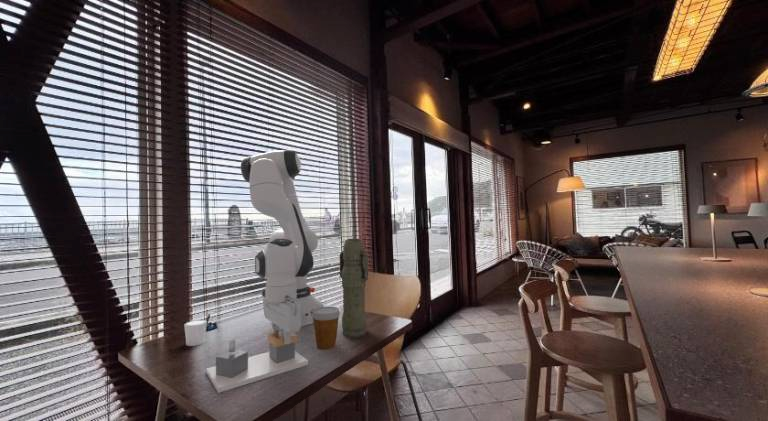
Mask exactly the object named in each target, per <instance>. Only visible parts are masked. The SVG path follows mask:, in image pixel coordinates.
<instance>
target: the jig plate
mask: <svg viewBox="0 0 768 421" xmlns="http://www.w3.org/2000/svg"><path fill="white" fill-rule="evenodd" d="M284 335H285V333H284V330H283V329H282V328H279V338H282V337H284ZM268 343H269V344H268V345H269V346H268V348H269V351H266V352H263V353H258V354H256V355H252V356H249V351H247V350H240V349H236V340H235V339H233V338H232V339H230V340H229V341H228V350H227V351H225V352H222V353H221V354H219V355H216V356H215V365H214V366H211V367H206V368H205V371H206V372H205V373H206V375H207V376H208V379H209V380H210V382H211V383H212V385H213V387H214V388H215V390H216V392H217V393H218V394H220V393H223V392H226V391H229V390H232V389H235V388H238V387H241V386H245V385H248V384H252V383H254V382H257V381H261V380H263V379H267V378H270V377H273V376H277V375H280V374H282V373H286V372H290V371H293V370H297V369H298V368H301V367H304V366H308V365H309V360H308V359H307V358H305V357H304V356H302V355H301V354H300V353H298V352H297V351H296V342H294V343H290V344H286V345H282V346H279V347H275V346H273V345H272V344H271V343H270V342H268Z"/></svg>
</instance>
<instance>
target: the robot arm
mask: <svg viewBox="0 0 768 421" xmlns="http://www.w3.org/2000/svg"><path fill="white" fill-rule="evenodd" d="M301 167H302V162H301V159H300V156H299V155H298V152H296V151H295V150H294V149H284V150H273V151H267V152H264V153H258V154H256V155H250V156H247V157H244V158H243V159H242V161H241V163H240V172H241V175H242V177H243V180H244V181H246V182H247V183H249V184H248V185H249V195H250V202H251V204H252V207H253V208H254V209H255V210H257V211H258V212H259V213H260V214H263V215H264V216H267V217H269V218H270V217H271V218H274V219H275V220H276V221H277V222H278V224H279V226H280V227H281V228H279V229H276V230H274V231H273V232H272V233H271V234H270V236H269V241H268V242H267V244H266V248H264V249H261V250H260V251H259V252H258V253H257V254H256V255H255V256H254V273H255V274H256V275H257V276H258V277H259V278H262V279H265V280H266V283H265V287H264V288H263V289H261V297H263V298H262V306H263V308H262V309H263V315H264V318H265V319H266V320H268V321H270V324H271V330H272V333H276V332H279V330H280V329H283V330H284V333H285V335H284V337H283V343H284V344H290V343H291V336H292V333H297V332H300V331H301V329H302V328H303V327H307V326H309V325H312V324H313V325H314V323H313V318H312V316H311V315H312V313H313V310H314V309H317V308H320V307H325V305H324V303H323V302H322V301H321V300H320V299H318V298H317V297H316V296H314V295H313V294H312V293H315V291H316V288H315V287H313V286H308V284H307V281H308V280H307V279H308V278H307V277H308V276H307V275H308V274H309V273H310V272H311V271H312V270H313V268H314V256H313V252H314V251H316V249H317V247H318V244H319V239H318V235H317V234H316V233H315V231H313V230H312V229H311V228H310V226H309V224H307V223H308V222H307V221H306V219H305V217H304V216H303V213H302V210H301V207H300V202H299V198H298V193H297V188H296V185H295V182H294V180H295V178H296V177H297V176H299V174H300V172H301Z"/></svg>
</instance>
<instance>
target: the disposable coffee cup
mask: <svg viewBox="0 0 768 421" xmlns="http://www.w3.org/2000/svg"><path fill="white" fill-rule="evenodd" d="M340 315H341V312H340V309H339V308H338V307H336V306H335V307H334V306H324V307H320V308H317V309H314V310H313V313H312V315H311V316H312V318H313V330H314V336H315V344H316V348H317V349H318V350H322V351H324V350H325V351H326V350H331V349H334V348H335V347H337V346H336V344H337V336H338V328H339V317H340Z"/></svg>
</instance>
